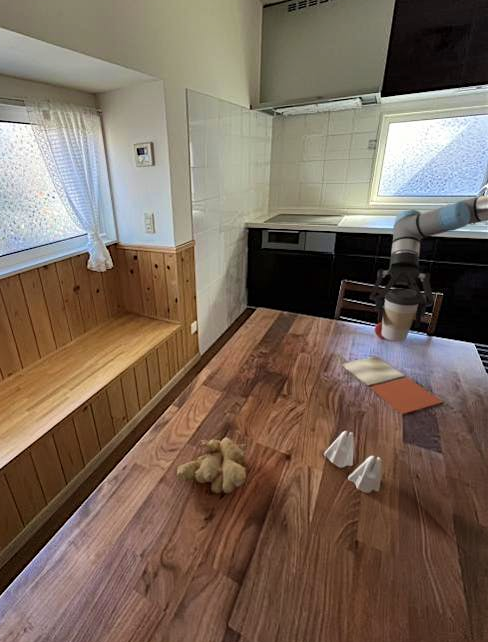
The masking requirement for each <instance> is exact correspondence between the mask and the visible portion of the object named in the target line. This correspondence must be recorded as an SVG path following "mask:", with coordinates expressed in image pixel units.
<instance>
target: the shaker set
mask: <svg viewBox="0 0 488 642" xmlns="http://www.w3.org/2000/svg"><path fill="white" fill-rule="evenodd" d="M354 437H355V436H354V433H353V432H352V431H350V432H349V433H348V431H347V430H344V431H342V432H341V433H340V435H338V436H337V438H336V439H335V440H334V441H332V443H331V444H330V446H328V448H327V449H326V450H325V451H324V453H323V455H324V457H325V458H326V459H328V460H329V461H330V462H331V464H332V465H335V466H336V467H337V468H340V469H342V468H345V467H347V466H349V467H352V466H354V452H355V449H354V448H355V447H354V446H355V438H354ZM382 467H383V466H382V458H381V457H379V456H377V458H376V459H375V455H370V456H368V457H367V458H366V459H365V460H364V461H363V462H362V463H361V464H360V465H359V466H358V467H357V468H355V470H353V471H352V472H351V473H350V474H349V475H348V477H347V480H348V481H349V482H352V483H354V485H355V487H356V489H357V490H359V491H362V493H366V494H370V493H371V492H372V491H374V492H377V491H378V492H380V487H381V478H382Z"/></svg>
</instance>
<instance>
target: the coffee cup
mask: <svg viewBox="0 0 488 642" xmlns="http://www.w3.org/2000/svg"><path fill="white" fill-rule="evenodd" d="M419 303H420V298H419V296H417V292H416V291H411V289H409V288H408V289H407V288H403V287H396V288H392V289H390V290H389V291H388V292H387V293H386V295H385V296H384V303H383V312H382V320H381V322H382V333H381V334H382V336H383V337H384V338H385V339H386V340H389V341H392V342H404V341H406V340H407V337H408V335H409V332H410V329H411V328H412V325H413V323H414V320H415V318H416V312H417V307H418V305H419Z"/></svg>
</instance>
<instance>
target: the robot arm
mask: <svg viewBox="0 0 488 642" xmlns="http://www.w3.org/2000/svg"><path fill="white" fill-rule="evenodd" d="M487 221H488V194H486V195H481V196H478V197H473V198H470V199H469V198H468V199H463V200H460V201H456V202H453V203H447V204H445V205H443V206H439V207H437V208H434V209H431V210H428V211H426V212H420V211H419V210H416V209H410V210H403V211H401V212H399V213H398V214H397V215H396V217H395V220H394V224H393V234H392V244H391V252H390V261H389V268H388V269H387V270H384V269H382V268H380V269H378V271H377V278H376V281H375V284H374V286H373V288H372V291H371V293H370V295H369V300H371V301H374V302H375V305H374V312H378V313H377V322H376V323H377V324H379V323H381V322H382V319H383V308H384V303H385V299H384V298H385V295H386V293H387V292H389V291H391V288H392V287H393V286H394V285H402V286H408V289H409V290H411V291H416V292H417V296H419V298H420V303H419V304H418V307H417V312H416V314H415V321H414V328H415V329H419V328H420V326H421V320H422V318H424V317H425V316H426V311H427V307H432V306H433V304H434V303H435V300H434V299H435V298H434V296H433V290H432V287H431V282H430V279H431V273H429V272H426V273H422V272H420V271H419V264H420V263H419V261H420V251H421V250H420V249H421V240H422V239H424V238H429V237H432V236H436V235H439V234H444V233H448V232H451V231H456V230H459V229H461V228H464V227H466V226H468V225H472V224H473V225H474V224H477V223H478V224H479V223H481V222H487ZM386 276H388V277H389V279H390V280H389V281H388V282H387V284H386V285H385V287H383V289H381V291H380V292H379V294H378V295H377V292H378V290H379V288H380V285H381V283H382V280H383V279H384V278H385V277H386ZM418 278H419V280H420V282H421V283H422V288H423V289H422V290H423V293H424V294H423V293H422V291H421V290H420V287H419V286H418V284H417V281H416V280H417V279H418Z"/></svg>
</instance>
